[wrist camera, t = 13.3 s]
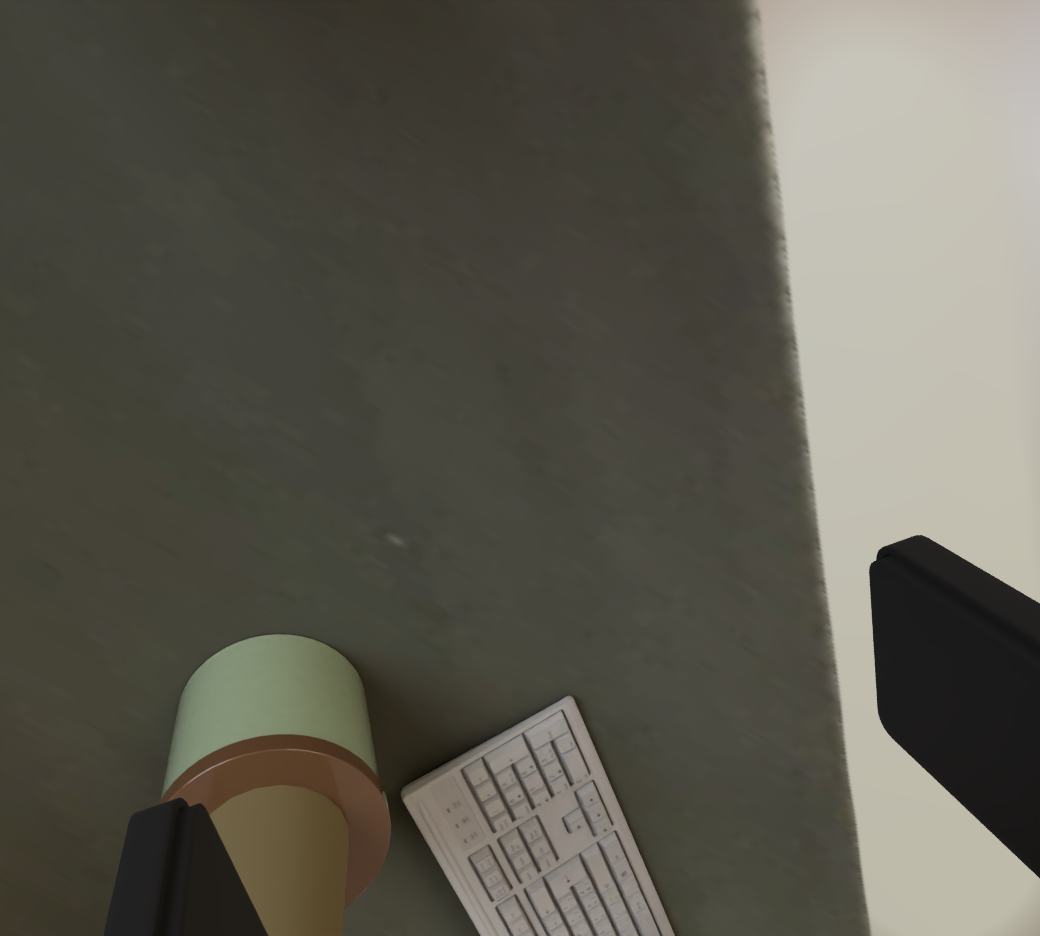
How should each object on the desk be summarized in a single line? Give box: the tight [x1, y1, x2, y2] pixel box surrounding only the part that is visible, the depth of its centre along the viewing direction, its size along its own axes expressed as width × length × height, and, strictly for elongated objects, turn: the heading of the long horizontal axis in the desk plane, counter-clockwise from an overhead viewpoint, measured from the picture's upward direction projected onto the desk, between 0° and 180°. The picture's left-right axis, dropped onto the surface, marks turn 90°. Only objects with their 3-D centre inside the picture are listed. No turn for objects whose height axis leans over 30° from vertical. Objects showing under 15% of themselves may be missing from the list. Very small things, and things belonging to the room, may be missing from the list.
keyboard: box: [401, 696, 675, 936], centre depth 50 cm, size 29×10×2 cm, turn 21°
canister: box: [158, 634, 391, 909], centre depth 38 cm, size 9×9×9 cm
